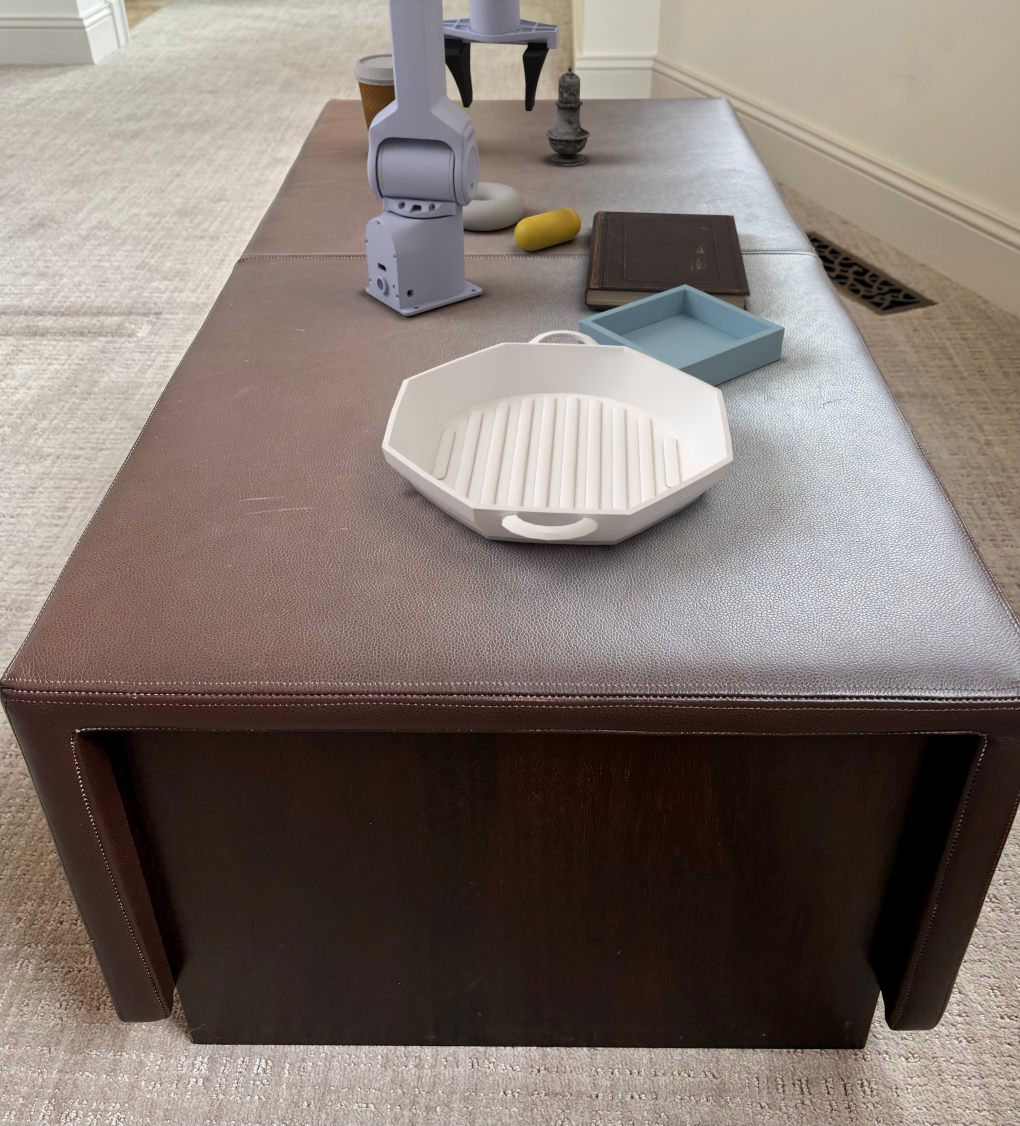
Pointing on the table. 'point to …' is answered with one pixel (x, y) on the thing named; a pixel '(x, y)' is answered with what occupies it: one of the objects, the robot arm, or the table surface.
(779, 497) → the table surface
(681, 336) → the tray
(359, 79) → the disposable coffee cup
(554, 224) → the yellow rounded capsule
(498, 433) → the pan
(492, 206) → the donut
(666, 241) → the hardcover book
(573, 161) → the salt shaker
